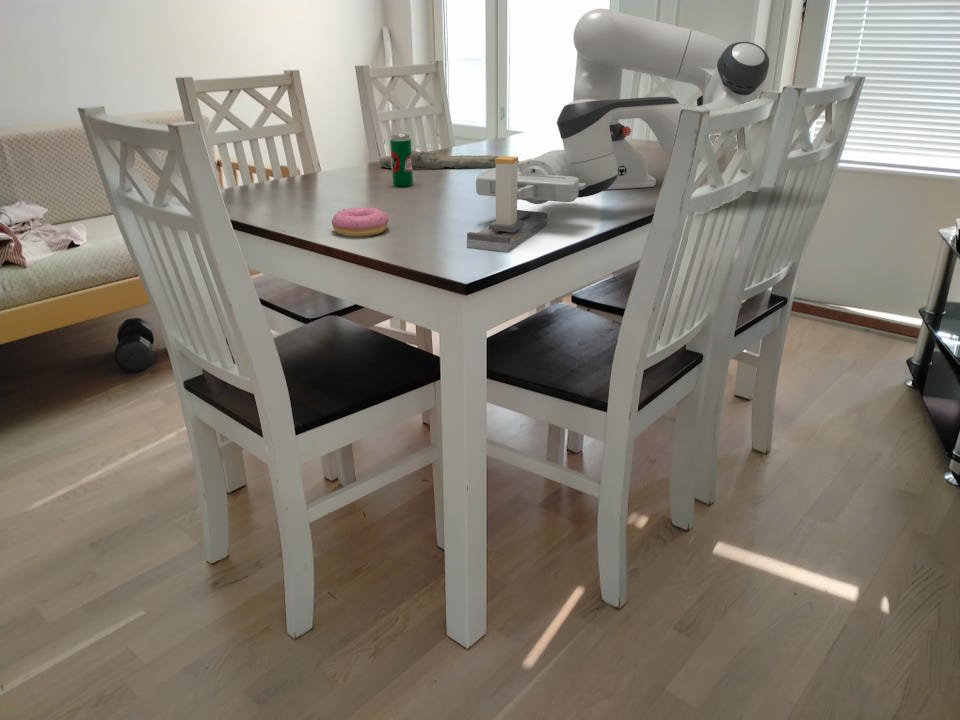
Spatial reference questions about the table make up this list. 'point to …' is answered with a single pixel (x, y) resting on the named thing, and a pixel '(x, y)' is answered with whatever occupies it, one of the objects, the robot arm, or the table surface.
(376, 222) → the doughnut
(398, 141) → the soda can
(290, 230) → the table surface
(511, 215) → the fader tab
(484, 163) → the elongated rock
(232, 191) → the table surface
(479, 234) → the fader rail
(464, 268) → the table surface
